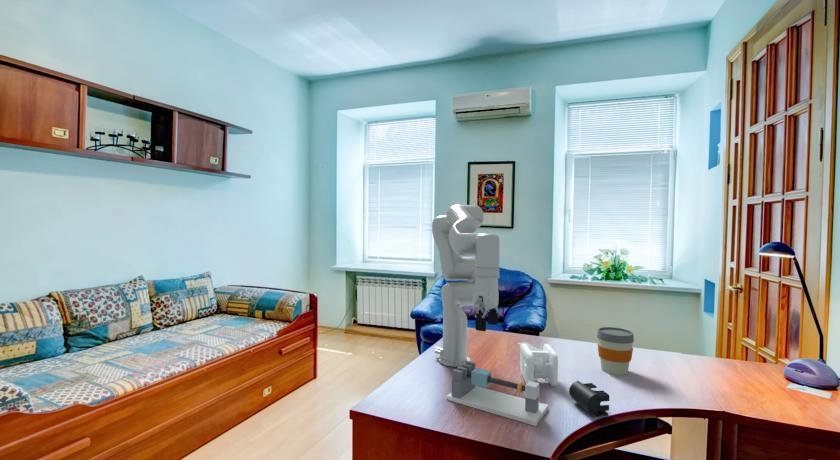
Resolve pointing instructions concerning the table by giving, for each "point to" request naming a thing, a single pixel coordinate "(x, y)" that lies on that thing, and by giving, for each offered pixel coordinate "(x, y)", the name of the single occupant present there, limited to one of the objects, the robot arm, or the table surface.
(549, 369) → the cable organizer
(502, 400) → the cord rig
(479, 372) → the sleeve
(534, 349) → the pale grey flat piece
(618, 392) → the table surface
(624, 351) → the reusable coffee cup
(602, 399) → the end cap
